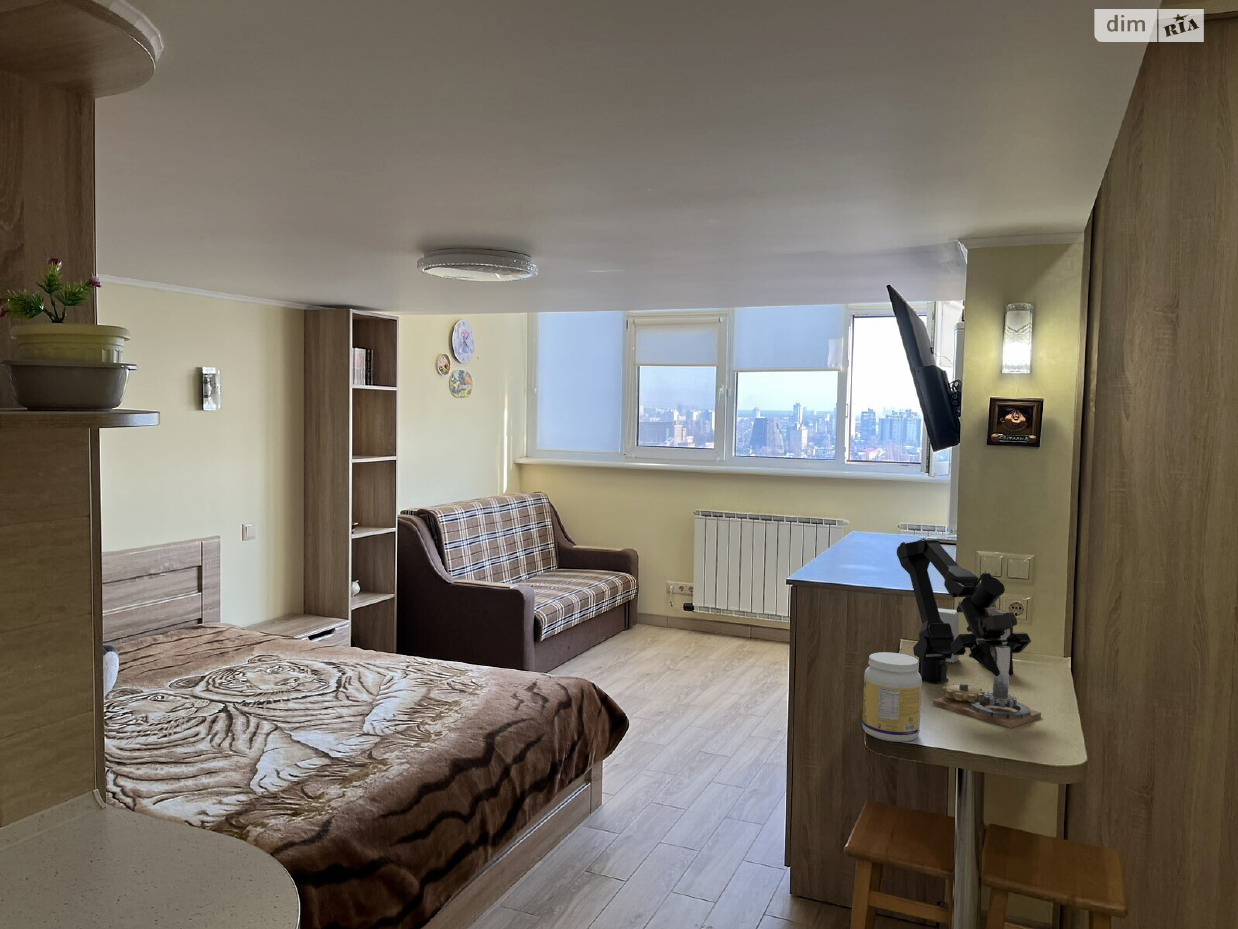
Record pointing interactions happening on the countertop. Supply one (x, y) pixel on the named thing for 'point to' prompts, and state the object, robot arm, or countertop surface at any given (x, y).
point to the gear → (1001, 680)
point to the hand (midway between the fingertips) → (1004, 675)
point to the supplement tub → (892, 697)
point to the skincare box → (953, 620)
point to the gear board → (983, 706)
